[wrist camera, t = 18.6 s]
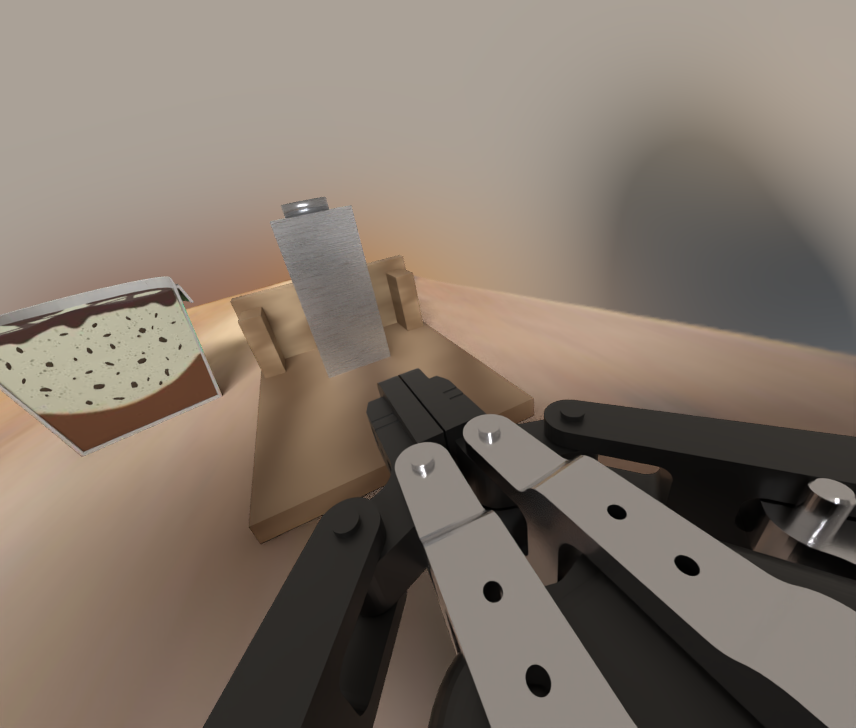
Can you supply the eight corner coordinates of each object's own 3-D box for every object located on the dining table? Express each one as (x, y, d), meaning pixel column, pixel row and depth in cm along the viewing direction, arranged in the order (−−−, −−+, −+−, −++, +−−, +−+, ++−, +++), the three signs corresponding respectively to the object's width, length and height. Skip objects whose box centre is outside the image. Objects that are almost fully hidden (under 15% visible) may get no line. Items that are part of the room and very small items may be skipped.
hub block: (328, 378, 24) (264, 207, 19) (319, 350, 29) (266, 209, 24) (390, 356, 26) (347, 191, 20) (371, 333, 31) (332, 196, 25)
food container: (229, 367, 33) (176, 269, 28) (240, 388, 28) (179, 275, 24) (73, 430, 27) (-29, 319, 22) (54, 468, 22) (-78, 339, 18)
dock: (260, 543, 14) (170, 415, 11) (267, 372, 30) (231, 298, 27) (533, 415, 18) (531, 293, 15) (413, 324, 34) (398, 255, 31)
